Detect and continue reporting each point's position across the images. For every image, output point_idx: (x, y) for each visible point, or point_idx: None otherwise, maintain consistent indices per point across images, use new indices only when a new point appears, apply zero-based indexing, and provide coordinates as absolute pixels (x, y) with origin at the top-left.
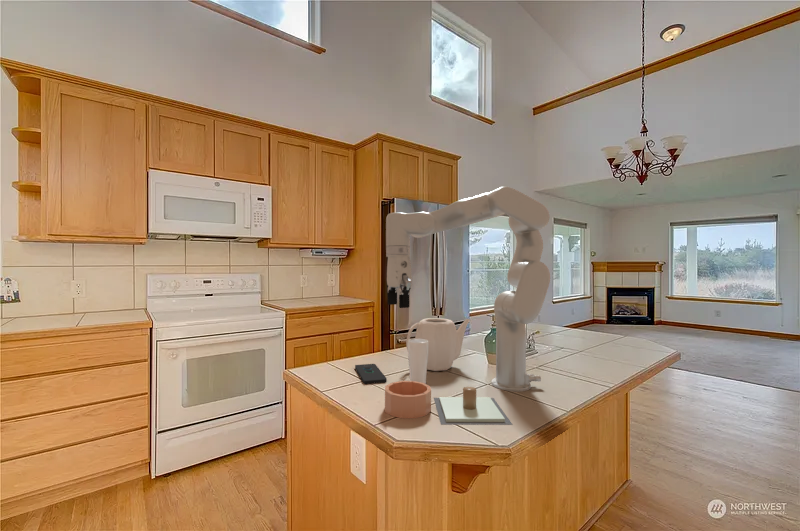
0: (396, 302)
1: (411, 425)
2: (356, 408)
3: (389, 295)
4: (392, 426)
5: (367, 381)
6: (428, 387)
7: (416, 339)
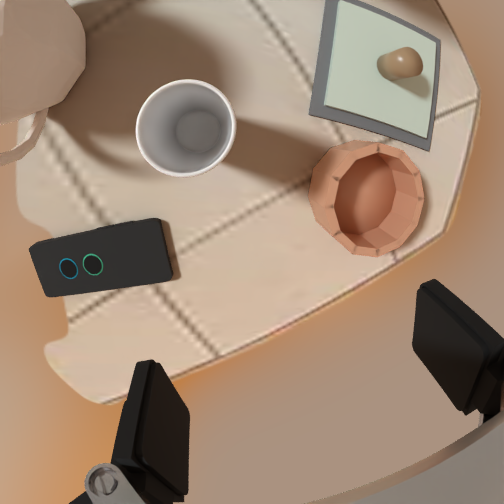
0: (157, 373)
1: None
2: (324, 291)
3: (185, 473)
4: None
5: (171, 271)
6: (385, 149)
7: (140, 131)
